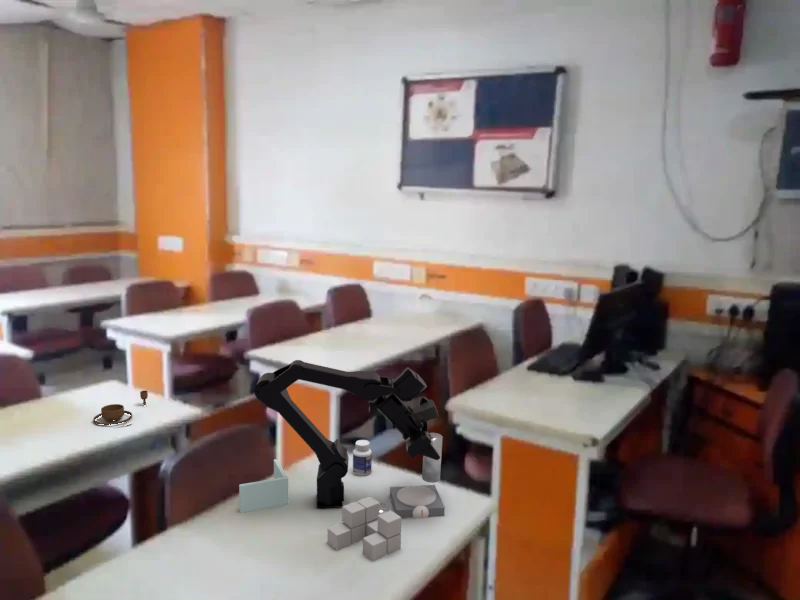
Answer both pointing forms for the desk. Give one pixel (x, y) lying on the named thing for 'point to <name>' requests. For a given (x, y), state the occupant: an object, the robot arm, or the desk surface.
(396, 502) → the scale
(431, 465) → the cylinder
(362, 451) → the pill bottle
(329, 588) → the desk surface
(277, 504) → the l-shaped corner panel
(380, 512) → the short steel spacer
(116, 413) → the place setting
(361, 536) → the puzzle cube
